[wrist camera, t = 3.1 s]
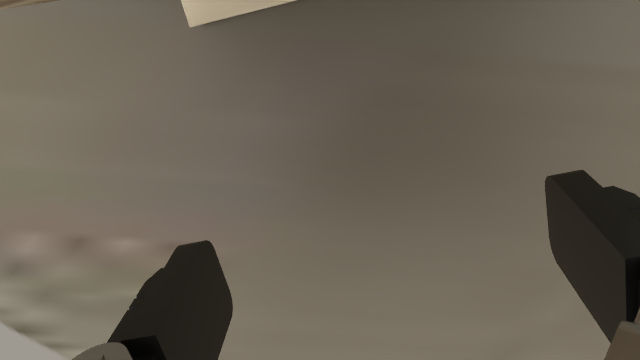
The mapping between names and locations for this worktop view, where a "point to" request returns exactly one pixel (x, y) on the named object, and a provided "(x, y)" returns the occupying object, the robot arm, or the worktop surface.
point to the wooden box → (192, 8)
